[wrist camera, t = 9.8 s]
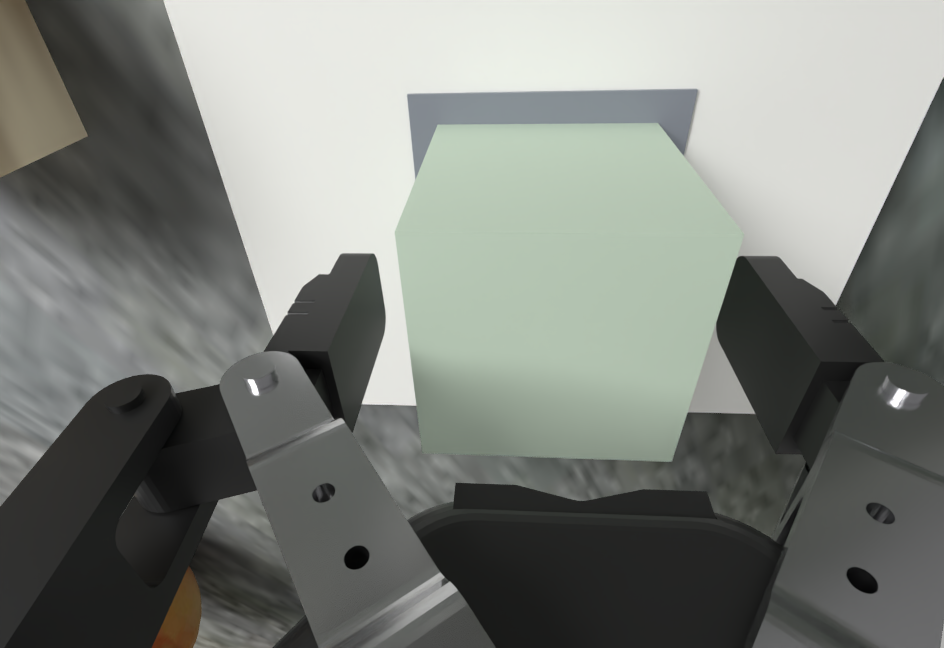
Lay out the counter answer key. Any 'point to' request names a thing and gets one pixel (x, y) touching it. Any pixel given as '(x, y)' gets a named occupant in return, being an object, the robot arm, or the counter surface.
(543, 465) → the counter surface
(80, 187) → the counter surface
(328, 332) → the robot arm
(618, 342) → the sage block
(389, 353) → the baseplate
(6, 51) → the beech block
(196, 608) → the onion
